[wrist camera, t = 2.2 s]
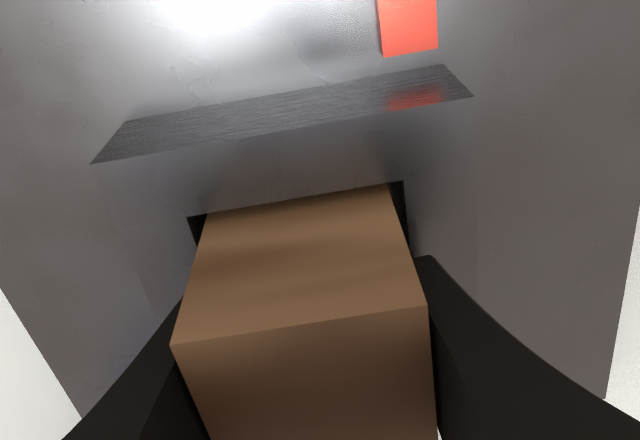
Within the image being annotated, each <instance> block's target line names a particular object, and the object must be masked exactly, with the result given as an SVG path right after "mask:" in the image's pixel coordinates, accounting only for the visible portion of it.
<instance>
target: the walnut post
mask: <svg viewBox="0 0 640 440" xmlns="http://www.w3.org/2000/svg"><path fill="white" fill-rule="evenodd" d="M169 346H170V348H171V351H172V353H173V355H174V357H175V360H176V362H177V364H178V366H179V369H180V371H181V373H182V375H183V378H184V380H185V382H186V384H187V387H188V389H189V391H190V394H191V396H192V398H193V400H194V403H195V405H196V407H197V409H198V412H199V414H200V416H201V418H202V421H203V423H204V425H205V427H206V430H207V432H208V434H209V436H210V439H211V440H438V431H437V418H436V406H435V393H434V380H433V367H432V355H431V342H430V329H429V316H428V304H427V301H426V299H425V296H424V293H423V290H422V287H421V284H420V281H419V278H418V275H417V272H416V269H415V266H414V263H413V260H412V257H411V254H410V252H409V249H408V246H407V243H406V240H405V237H404V234H403V231H402V228H401V225H400V222H399V219H398V216H397V213H396V210H395V207H394V205H393V202H392V199H391V196H390V193H389V190H388V187H387V184H386V183H383V184H377V185H371V186H365V187H359V188H353V189H348V190H342V191H336V192H330V193H324V194H318V195H312V196H306V197H300V198H295V199H289V200H283V201H277V202H271V203H265V204H259V205H253V206H247V207H242V208H236V209H230V210H224V211H218V212H212V213H208V214H207V217H206V221H205V224H204V228H203V231H202V235H201V238H200V241H199V245H198V248H197V252H196V255H195V259H194V262H193V265H192V269H191V272H190V276H189V279H188V283H187V286H186V289H185V293H184V296H183V300H182V303H181V306H180V310H179V313H178V317H177V320H176V324H175V327H174V330H173V334H172V337H171V341H170V344H169Z"/></svg>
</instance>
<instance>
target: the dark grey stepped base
mask: <svg viewBox="0 0 640 440" xmlns="http://www.w3.org/2000/svg"><path fill="white" fill-rule="evenodd" d="M383 183H386V184H387V187H388V190H389V193H390V196H391V199H392V202H393V205H394V207H395V210H396V213H397V216H398V219H399V222H400V225H401V228H402V231H403V234H404V237H405V240H406V243H407V246H408V249H409V252H410V254H411V257H418V256H424V255H431V256H433V257H434V258H436V260H437V261H438V262H439V263H440V264H441V266H442V267H443V268H444V269H445V270H446V271H447V272H448V274H449V275H450V276H451V277H452V278H453V279H454V280H455V281H456V282H457V283H458V284H459V285H460V286H461V287H462V288H463V289H464V291H465V292H466V293H467V294H468V295H469V296H470V297H471V298H472V299H473V300H475V301H476V302H477V303H478V304H479V305H480V306H481V307H482V308H483V309H484V310H485V311H486V312H487V313H488V314H489V315H491V316H492V317H493V318H494V319H495V320H496V321H497V322H498V323H499V324H501V325H502V326H503V327H504V328H505V329H506V330H507V331H509V332H510V333H511V334H512V335H513V336H515V337H516V338H517V339H518V340H519V341H521V342H522V343H523V344H524V345H525V346H527V347H528V348H529V349H531V350H532V351H533V352H534V353H536V354H537V355H538V356H540V357H541V358H542V359H544V360H545V361H546V362H548V363H549V364H550V365H552V366H553V367H554V368H556V369H557V370H559V371H560V372H562V373H563V374H564V375H566V376H567V377H569V378H570V379H571V380H573V381H574V382H576V383H577V384H579V385H580V386H582V387H584V388H585V389H587V390H588V391H590V392H591V393H593V394H594V395H596V396H597V397H599V398H601V399H605V397H606V391H607V386H608V380H609V374H610V369H611V363H612V358H613V352H614V346H615V341H616V335H617V329H618V324H619V318H620V313H621V307H622V301H623V296H624V290H625V284H626V279H627V273H628V268H629V262H630V256H631V251H632V245H633V239H634V234H635V228H636V223H637V217H638V211H639V206H640V0H0V288H1V290H2V292H3V293H4V295H5V296H6V298H7V300H8V301H9V303H10V304H11V306H12V308H13V309H14V311H15V312H16V314H17V316H18V317H19V319H20V320H21V322H22V324H23V325H24V327H25V328H26V330H27V331H28V333H29V335H30V336H31V338H32V339H33V341H34V343H35V344H36V346H37V347H38V349H39V351H40V352H41V354H42V355H43V357H44V359H45V360H46V362H47V363H48V365H49V367H50V368H51V370H52V371H53V373H54V374H55V376H56V378H57V379H58V381H59V382H60V384H61V386H62V387H63V389H64V390H65V392H66V394H67V395H68V397H69V398H70V400H71V402H72V403H73V405H74V406H75V408H76V410H77V411H78V413H79V414H80V416H81V418H82V419H83V418H84V417H85V415H86V414H87V413H88V412H89V411H90V410H91V409H92V408H93V407H94V406H95V405H96V403H97V402H98V401H99V400H100V399H101V398H102V396H103V395H104V394H105V393H106V392H107V391H108V389H109V388H110V387H111V386H112V385H113V384H114V382H115V381H116V380H117V379H118V378H119V377H120V376H121V374H122V373H123V372H124V371H125V370H126V369H127V367H128V366H129V365H130V364H131V362H132V361H133V360H134V359H135V357H136V356H137V355H138V354H139V352H140V351H141V350H142V348H143V347H144V346H145V345H146V343H147V342H148V341H149V339H150V338H151V337H152V336H153V334H154V333H155V332H156V330H157V329H158V328H159V326H160V325H161V324H162V322H163V321H164V320H165V318H166V317H167V316H168V315H169V313H170V312H171V311H172V309H173V308H174V307H175V305H176V304H177V303H178V301H179V300H180V299H181V298H182V296H183V295H184V293H185V289H186V286H187V283H188V279H189V276H190V272H191V269H192V265H193V262H194V259H195V255H196V252H197V248H198V245H199V241H200V238H201V235H202V231H203V228H204V224H205V221H206V217H207V214H208V213H212V212H218V211H224V210H230V209H236V208H242V207H247V206H253V205H259V204H265V203H271V202H277V201H283V200H289V199H295V198H300V197H306V196H312V195H318V194H324V193H330V192H336V191H342V190H348V189H353V188H359V187H365V186H371V185H377V184H383Z"/></svg>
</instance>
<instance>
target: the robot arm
mask: <svg viewBox="0 0 640 440" xmlns="http://www.w3.org/2000/svg"><path fill="white" fill-rule="evenodd" d="M412 260H413V263H414V266H415V269H416V272H417V275H418V278H419V281H420V284H421V287H422V290H423V293H424V296H425V299H426V301H427V304H428V316H429V329H430V342H431V355H432V367H433V380H434V393H435V406H436V418H437V427H438V430H439V433H440V435H441V438H442V440H640V422H639V421H638V420H636V419H634V418H633V417H631V416H629V415H628V414H626V413H624V412H623V411H621V410H619V409H617V408H616V407H614V406H612V405H611V404H609V403H607V402H606V401H604V400H602V399H601V398H599V397H597V396H596V395H594V394H593V393H591V392H590V391H588V390H587V389H585V388H584V387H582V386H580V385H579V384H577V383H576V382H574V381H573V380H571V379H570V378H569V377H567V376H566V375H564V374H563V373H562V372H560V371H559V370H557V369H556V368H554V367H553V366H552V365H550V364H549V363H548V362H546V361H545V360H544V359H542V358H541V357H540V356H538V355H537V354H536V353H534V352H533V351H532V350H531V349H529V348H528V347H527V346H525V345H524V344H523V343H522V342H521V341H519V340H518V339H517V338H516V337H515V336H513V335H512V334H511V333H510V332H509V331H507V330H506V329H505V328H504V327H503V326H502V325H501V324H499V323H498V322H497V321H496V320H495V319H494V318H493V317H492V316H491V315H489V314H488V313H487V312H486V311H485V310H484V309H483V308H482V307H481V306H480V305H479V304H478V303H477V302H476V301H475V300H473V299H472V298H471V297H470V296H469V295H468V294H467V293H466V292H465V291H464V289H463V288H462V287H461V286H460V285H459V284H458V283H457V282H456V281H455V280H454V279H453V278H452V277H451V276H450V275H449V274H448V272H447V271H446V270H445V269H444V268H443V267H442V266H441V264H440V263H439V262H438V261H437V260H436V258H434V257H433V256H431V255H424V256H418V257H412ZM183 296H184V295H183ZM183 296H182V298H181V299H180V300H179V301H178V303H177V304H176V305H175V307H174V308H173V309H172V311H171V312H170V313H169V315H168V316H167V317H166V318H165V320H164V321H163V322H162V324H161V325H160V326H159V328H158V329H157V330H156V332H155V333H154V334H153V336H152V337H151V338H150V339H149V341H148V342H147V343H146V345H145V346H144V347H143V348H142V350H141V351H140V352H139V354H138V355H137V356H136V357H135V359H134V360H133V361H132V362H131V364H130V365H129V366H128V367H127V369H126V370H125V371H124V372H123V373H122V374H121V376H120V377H119V378H118V379H117V380H116V381H115V382H114V384H113V385H112V386H111V387H110V388H109V389H108V391H107V392H106V393H105V394H104V395H103V396H102V398H101V399H100V400H99V401H98V402H97V403H96V405H95V406H94V407H93V408H92V409H91V410H90V411H89V412H88V413H87V414H86V415H85V417H84V418H83V419H82V420H81V421H80V422H79V423H78V424H77V425H76V426H75V427H74V428H73V429H72V430H71V431H70V432H69V433H68V434H67V435H66V436H65V437H64V438H63V439H62V440H211V439H210V436H209V434H208V432H207V430H206V427H205V425H204V423H203V421H202V418H201V416H200V414H199V412H198V409H197V407H196V405H195V403H194V400H193V398H192V396H191V394H190V391H189V389H188V387H187V384H186V382H185V380H184V378H183V375H182V373H181V371H180V369H179V366H178V364H177V362H176V360H175V357H174V355H173V353H172V351H171V348H170V346H169V344H170V341H171V337H172V334H173V330H174V327H175V324H176V320H177V317H178V313H179V310H180V306H181V303H182V300H183Z"/></svg>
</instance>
